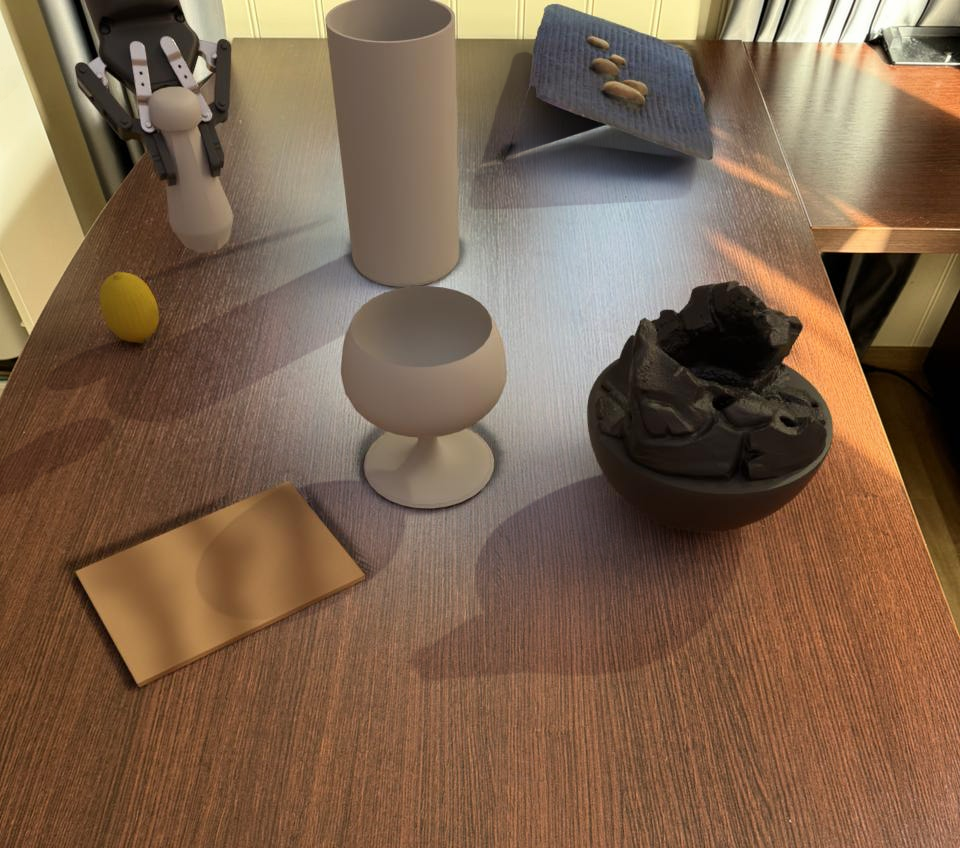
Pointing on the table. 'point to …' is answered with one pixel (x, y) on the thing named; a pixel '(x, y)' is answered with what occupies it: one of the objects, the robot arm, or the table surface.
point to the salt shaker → (190, 173)
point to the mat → (620, 80)
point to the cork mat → (216, 581)
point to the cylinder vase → (397, 136)
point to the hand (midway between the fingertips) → (194, 176)
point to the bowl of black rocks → (709, 414)
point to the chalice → (425, 391)
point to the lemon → (128, 307)
